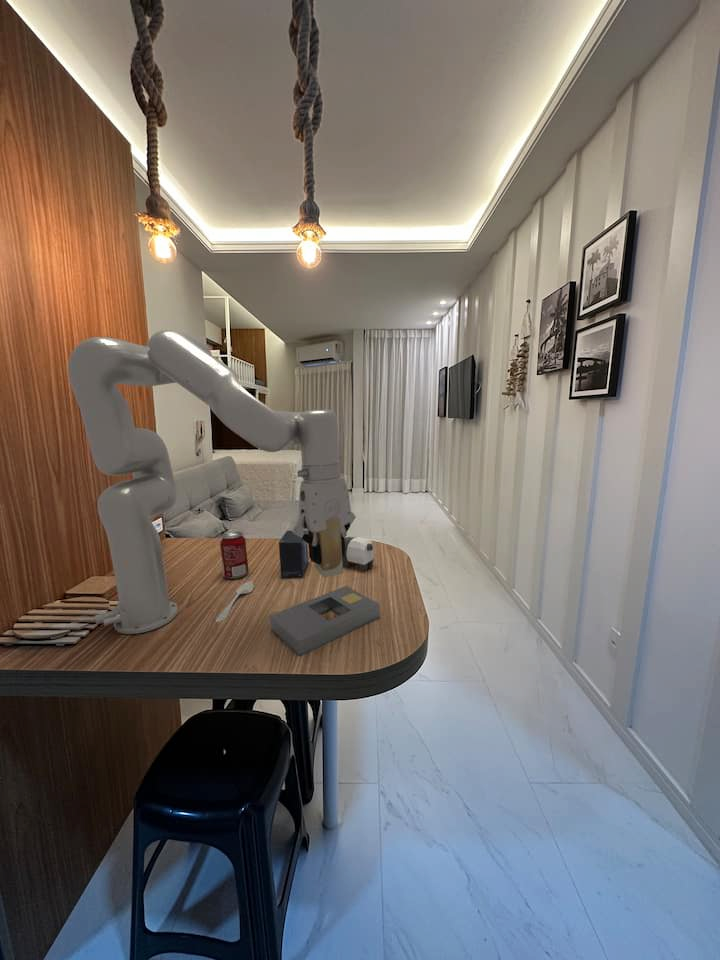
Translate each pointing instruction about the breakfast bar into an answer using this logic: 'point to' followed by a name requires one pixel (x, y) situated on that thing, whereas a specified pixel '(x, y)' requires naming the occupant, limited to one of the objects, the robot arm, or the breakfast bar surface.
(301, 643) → the grey slotted base block
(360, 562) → the giant panda
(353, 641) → the breakfast bar surface
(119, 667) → the breakfast bar surface
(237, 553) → the soda can
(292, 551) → the small box
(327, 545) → the skincare box
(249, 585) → the spoon
